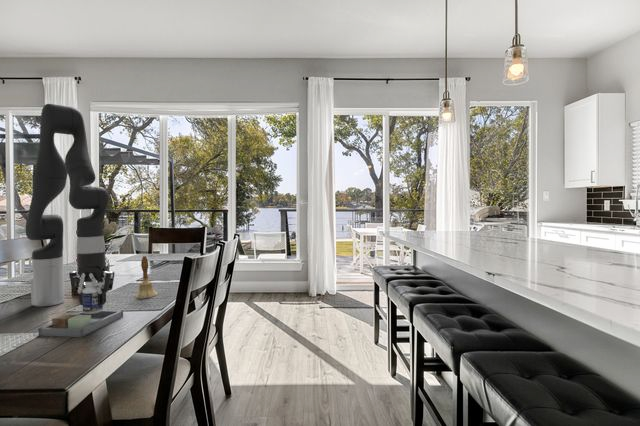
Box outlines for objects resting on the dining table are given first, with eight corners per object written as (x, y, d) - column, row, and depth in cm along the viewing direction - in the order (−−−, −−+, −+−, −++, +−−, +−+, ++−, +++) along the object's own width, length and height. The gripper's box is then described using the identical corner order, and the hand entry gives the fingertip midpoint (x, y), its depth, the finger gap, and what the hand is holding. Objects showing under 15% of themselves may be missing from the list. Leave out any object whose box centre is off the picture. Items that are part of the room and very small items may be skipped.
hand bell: (142, 299, 144) (141, 258, 143) (130, 296, 148) (129, 256, 148) (161, 294, 151) (160, 255, 150) (149, 292, 155) (148, 254, 155)
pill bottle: (93, 314, 113) (92, 283, 113) (78, 314, 114) (77, 282, 114) (107, 309, 118) (106, 279, 118) (92, 309, 120) (91, 278, 119)
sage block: (68, 332, 106) (67, 319, 106) (79, 328, 110) (78, 314, 110) (81, 333, 105) (80, 319, 105) (91, 328, 109) (91, 315, 109)
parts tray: (38, 337, 104) (38, 328, 104) (86, 317, 122) (86, 309, 122) (80, 339, 103) (80, 330, 103) (123, 318, 121) (122, 310, 121)
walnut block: (52, 332, 107) (51, 318, 106) (63, 327, 111) (63, 314, 110) (65, 332, 106) (64, 318, 106) (75, 328, 110) (75, 314, 110)
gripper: (60, 252, 113) (62, 307, 113) (103, 252, 111) (105, 308, 112) (79, 249, 120) (81, 301, 121) (120, 249, 119) (122, 302, 119)
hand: (92, 304), depth 116 cm, fingers closed on pill bottle, 5 cm apart
